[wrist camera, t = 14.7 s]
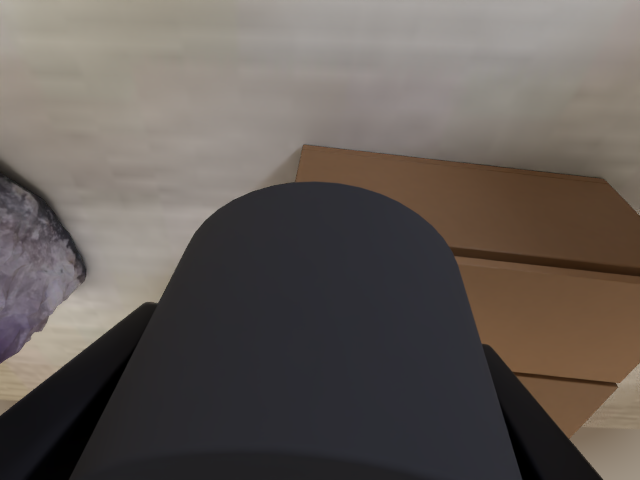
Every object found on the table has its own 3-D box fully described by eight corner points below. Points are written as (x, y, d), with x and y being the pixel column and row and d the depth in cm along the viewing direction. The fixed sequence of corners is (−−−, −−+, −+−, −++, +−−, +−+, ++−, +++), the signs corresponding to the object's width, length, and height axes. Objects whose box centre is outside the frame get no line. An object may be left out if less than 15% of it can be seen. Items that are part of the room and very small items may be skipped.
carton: (290, 307, 26) (273, 419, 20) (302, 144, 19) (281, 242, 13) (513, 332, 26) (559, 450, 20) (604, 178, 19) (713, 290, 13)
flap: (279, 338, 17) (278, 346, 17) (284, 236, 14) (283, 244, 13) (615, 375, 17) (620, 383, 17) (702, 282, 14) (710, 291, 13)
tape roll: (507, 203, 8) (669, 507, 4) (419, 391, 12) (452, 639, 8) (166, 158, 8) (-40, 423, 4) (193, 364, 12) (109, 600, 8)
